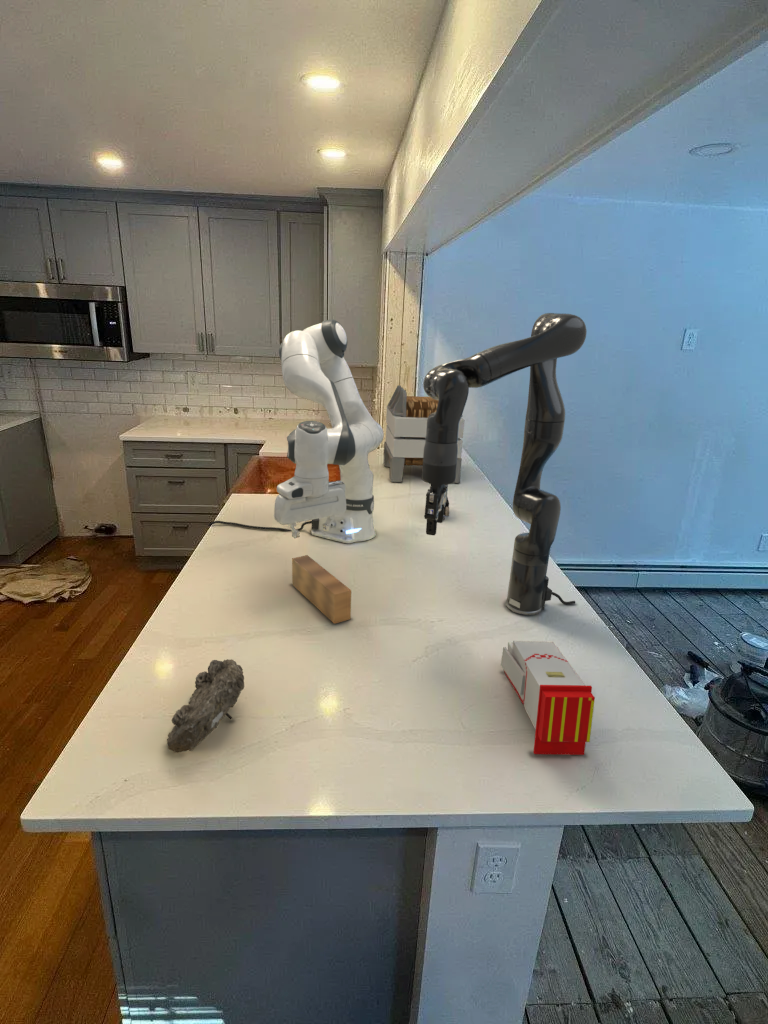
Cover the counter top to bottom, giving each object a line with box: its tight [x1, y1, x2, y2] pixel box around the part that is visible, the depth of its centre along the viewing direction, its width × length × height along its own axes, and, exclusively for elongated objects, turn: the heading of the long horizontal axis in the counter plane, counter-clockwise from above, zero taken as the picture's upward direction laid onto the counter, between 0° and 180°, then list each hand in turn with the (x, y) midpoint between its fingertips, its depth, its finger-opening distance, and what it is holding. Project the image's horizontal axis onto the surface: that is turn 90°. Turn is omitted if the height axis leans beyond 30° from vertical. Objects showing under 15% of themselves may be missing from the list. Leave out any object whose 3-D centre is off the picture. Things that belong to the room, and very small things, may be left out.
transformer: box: [383, 384, 465, 484], centre depth 268 cm, size 34×33×41 cm
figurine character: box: [430, 496, 450, 521], centre depth 218 cm, size 7×8×15 cm
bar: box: [291, 554, 352, 625], centre depth 151 cm, size 24×5×8 cm, turn 34°
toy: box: [500, 640, 596, 756], centre depth 114 cm, size 12×13×30 cm
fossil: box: [166, 658, 245, 754], centre depth 106 cm, size 22×10×15 cm
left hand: (311, 533), depth 153 cm, fingers open, 8 cm apart
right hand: (434, 528), depth 131 cm, fingers open, 8 cm apart
